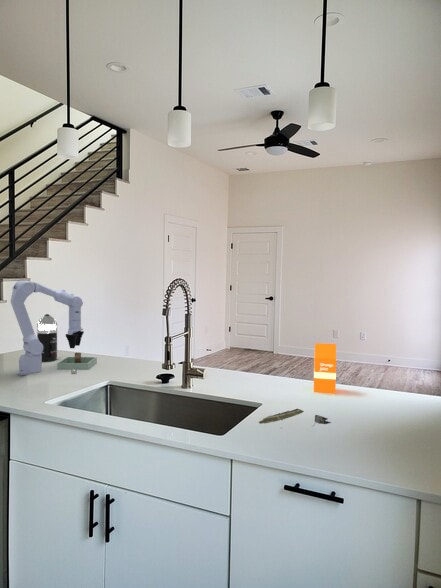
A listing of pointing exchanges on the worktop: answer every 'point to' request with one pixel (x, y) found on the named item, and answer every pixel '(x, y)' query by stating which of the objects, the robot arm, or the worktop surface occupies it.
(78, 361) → the strut
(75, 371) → the stud plate
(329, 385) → the orange juice
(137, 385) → the worktop surface
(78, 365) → the bin
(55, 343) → the spray bottle
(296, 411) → the dried leaves
